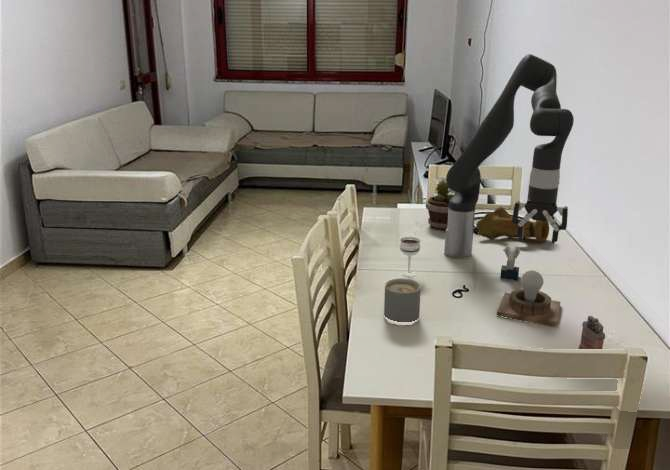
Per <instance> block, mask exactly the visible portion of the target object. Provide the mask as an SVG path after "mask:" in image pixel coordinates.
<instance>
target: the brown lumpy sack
mask: <svg viewBox="0 0 670 470" xmlns="http://www.w3.org/2000/svg"><path fill="white" fill-rule="evenodd" d="M580 335H581V336H580V341H579V346H578V350H579V349H602V350H603V348H604V347H603V345H604V340H605V339H606V333H604V325H603V324H602V323H600V321H599V318H595V317H594V316H593V315H587V320H585V321H582V330H581V334H580Z"/></svg>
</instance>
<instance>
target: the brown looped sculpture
mask: <svg viewBox="0 0 670 470" xmlns="http://www.w3.org/2000/svg"><path fill="white" fill-rule="evenodd" d="M512 217H513V215H511V214H510V213H509V212H508V211H507V210H506V209H505V208H504V207H503V206H500V207H497V208H495V209H494V211H492V212H488V213H486V214H485V215H484V216H483V217H482V218H481V219H479V220H477V222H476V226H475V227H476V229H477V231H478V234H479V235H480V236H481V237H484V238H486V239H489V240H495V239H498V238H500V237H506V238H509V239H510V238H519V237H518V236H517V232H518V225H517V224H513V223H512ZM519 219H520V218H519ZM521 219H522V218H521ZM521 219H520V220H521ZM549 234H550V223H549V222H548V220H547V221H540V220H535V221H532V220H528V221H527V222H526V223H525V224H524V231H523V238H522V239H527V238H528V239H529V238H531V239H532V238H535V240H536V241H537V242H538V243H544V242H546V241H547V240H548V237H549Z"/></svg>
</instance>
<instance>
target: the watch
mask: <svg viewBox="0 0 670 470" xmlns="http://www.w3.org/2000/svg"><path fill="white" fill-rule="evenodd" d="M502 251H503V252H504V253H505V256H506V258H507V260H506V265H503V264H502V265H501V268H500V276H499V277H500V278H499V279H500V280H507V281H514V282H515V281H516V282H517V281H518V280H519V273H520V267H519V266H515V263H516V259H517V258H518V257H519V255H520V253H521V248H520V247H519V246H518V245H515V244H507V245H505V247H504V248H503V249H502Z"/></svg>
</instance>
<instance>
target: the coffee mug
mask: <svg viewBox="0 0 670 470" xmlns="http://www.w3.org/2000/svg"><path fill="white" fill-rule="evenodd" d="M421 286H422V285H421V284H420V283H419V282H418V281H416V280H414V279H411V278H401V277H399V278H394V279H389V280H387V281H386V282H385V283H384V298H383V300H384V302H383V304H384V305H383V309H384V310H383V316H384V315H385V317H387V318H388V319H390V320H393V321H397V322H412V321H415V320H417V319H418V318H419V319H420V310H421V309H420V308H421V307H420V306H421V292H422V291H421V290H422V289H421V288H422V287H421Z"/></svg>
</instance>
